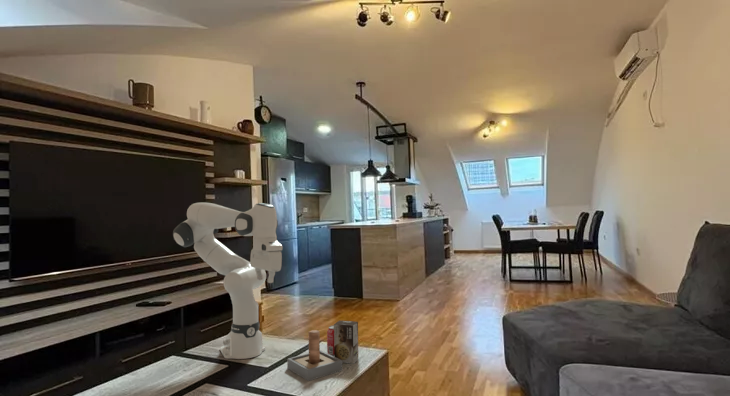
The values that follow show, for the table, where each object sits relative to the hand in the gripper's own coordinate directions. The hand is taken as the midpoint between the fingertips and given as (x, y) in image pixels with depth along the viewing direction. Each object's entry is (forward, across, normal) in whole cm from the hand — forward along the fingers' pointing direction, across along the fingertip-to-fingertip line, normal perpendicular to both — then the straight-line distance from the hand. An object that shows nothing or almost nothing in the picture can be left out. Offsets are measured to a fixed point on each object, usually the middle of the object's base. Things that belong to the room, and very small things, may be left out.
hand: (264, 281), depth 156 cm
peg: (+36, +4, +20) cm, 41 cm away
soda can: (+37, -6, +37) cm, 53 cm away
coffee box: (+37, +4, +36) cm, 52 cm away
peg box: (+37, +4, +20) cm, 42 cm away
